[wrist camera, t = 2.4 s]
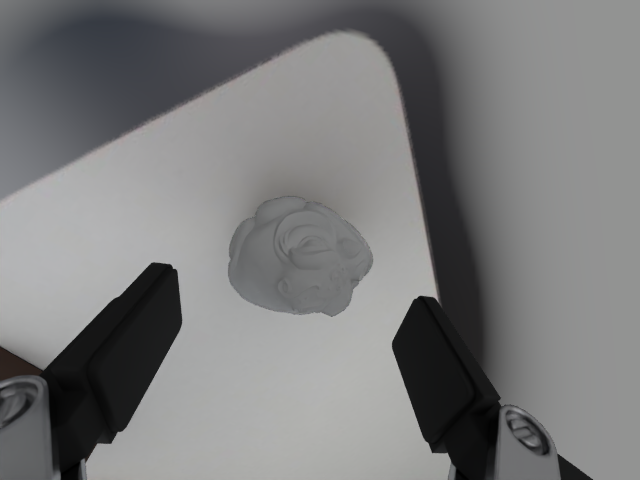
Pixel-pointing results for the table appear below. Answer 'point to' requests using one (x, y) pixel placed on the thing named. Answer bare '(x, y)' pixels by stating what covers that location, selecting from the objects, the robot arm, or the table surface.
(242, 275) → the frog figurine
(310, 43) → the table surface
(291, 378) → the table surface
